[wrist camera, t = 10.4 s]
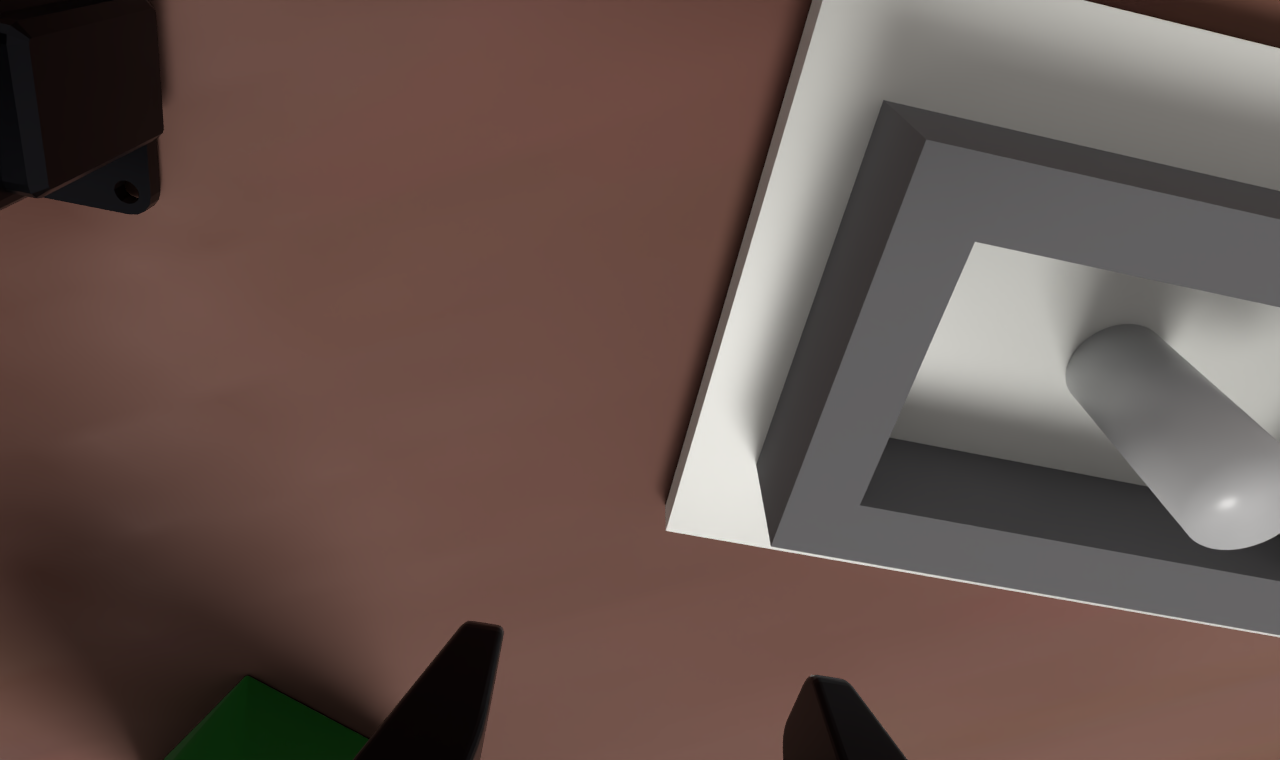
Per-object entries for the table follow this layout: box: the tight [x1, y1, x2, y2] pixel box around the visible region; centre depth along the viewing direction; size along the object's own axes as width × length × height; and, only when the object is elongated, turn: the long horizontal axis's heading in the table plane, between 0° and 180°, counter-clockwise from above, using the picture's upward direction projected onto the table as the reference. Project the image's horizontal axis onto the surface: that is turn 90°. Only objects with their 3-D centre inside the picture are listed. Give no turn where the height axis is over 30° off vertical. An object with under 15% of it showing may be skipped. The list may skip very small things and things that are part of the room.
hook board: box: [665, 0, 1280, 637], centre depth 18 cm, size 18×14×6 cm
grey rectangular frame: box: [756, 100, 1280, 635], centre depth 18 cm, size 14×9×3 cm, turn 78°
